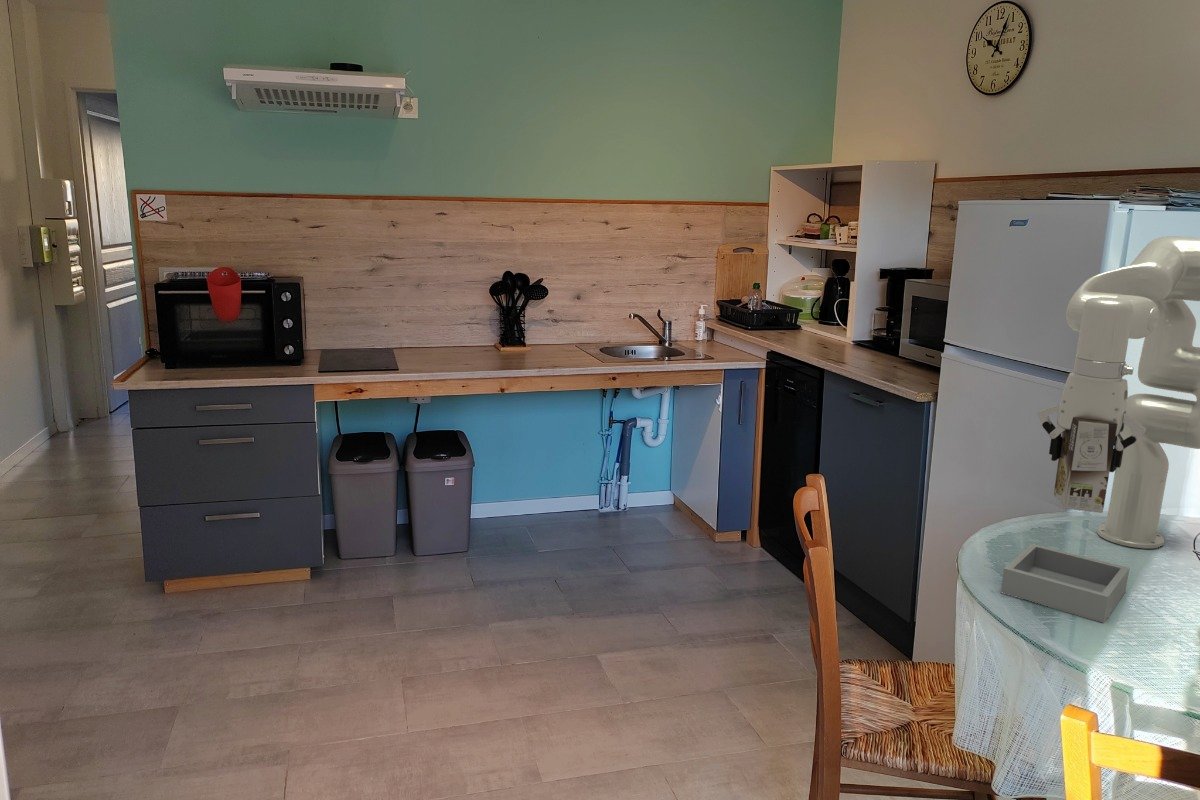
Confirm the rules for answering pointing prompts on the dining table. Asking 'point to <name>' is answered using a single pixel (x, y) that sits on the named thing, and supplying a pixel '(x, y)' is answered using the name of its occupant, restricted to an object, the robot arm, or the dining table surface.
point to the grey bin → (1066, 582)
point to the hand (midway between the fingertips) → (1083, 464)
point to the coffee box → (1085, 464)
